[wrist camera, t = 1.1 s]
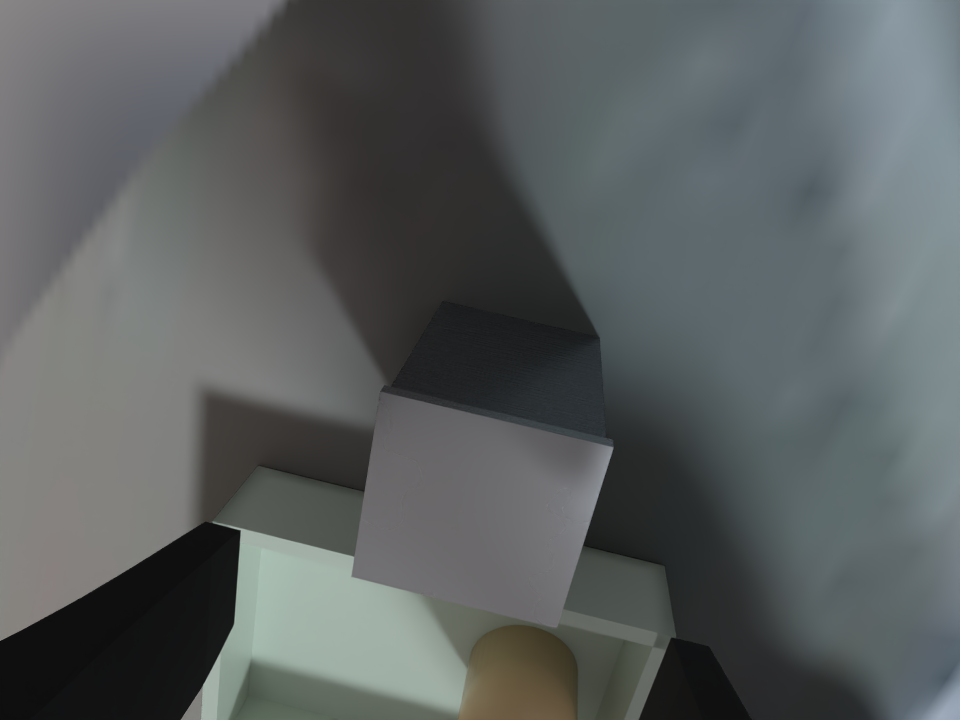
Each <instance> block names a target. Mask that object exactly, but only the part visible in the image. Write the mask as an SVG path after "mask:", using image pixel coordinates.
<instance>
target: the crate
mask: <svg viewBox="0 0 960 720" xmlns="http://www.w3.org/2000/svg"><path fill="white" fill-rule="evenodd" d="M363 499H364V492H363V491H359V490H355V489H351V488H347V487H342V486H338V485H334V484H330V483H326V482H322V481H318V480H314V479H310V478H306V477H302V476H298V475H294V474H290V473H286V472H282V471H278V470H274V469H269V468H265V467H261V466H257V467H256V469H255V470H254V471H253V472H252V473H251V475H250V476H249V477H248V478H247V479H246V481H245V482H244V483H243V484H242V486H241V487H240V488H239V489H238V490H237V492H236V493H235V494H234V495H233V496H232V498H231V499H230V500H229V501H228V503H227V504H226V505H225V506H224V507H223V509H222V510H221V511H220V512H219V513H218V515H217V516H216V517H215V518H214V520H213V521H212V523H213V524H217V525H221V526H225V527H229V528H233V529H238V530H241V537H240V551H239V565H238V579H237V593H236V607H235V621H234V626H233V628H232V630H231V632H230V634H229V636H228V638H227V640H226V642H225V644H224V646H223V648H222V650H221V652H220V654H219V656H218V658H217V660H216V662H215V664H214V666H213V668H212V670H211V672H210V674H209V675H208V677H207V679H206V681H205V683H204V684H203V698H202V716H201V720H458V715H459V710H460V705H461V700H462V694H463V689H464V684H465V679H466V674H467V668H468V663H469V658H470V654H471V651H472V648H473V647H474V645H475V643H476V642H477V641H478V640H479V639H480V638H481V637H482V636H483V635H485V634H486V633H488V632H490V631H492V630H494V629H497V628H500V627H504V626H510V625H525V626H532V627H536V628H539V629H542V630H545V631H547V632H549V633H551V634H553V635H555V636H556V637H558V638H559V639H560V640H562V641H563V642H564V643H565V644H566V645H567V646H568V647H569V649H570V650H571V652H572V653H573V655H574V657H575V659H576V662H577V667H578V720H639V717H640V715H641V712H642V710H643V707H644V705H645V702H646V700H647V697H648V695H649V692H650V689H651V687H652V684H653V682H654V679H655V677H656V674H657V672H658V669H659V667H660V664H661V662H662V659H663V657H664V654H665V652H666V649H667V647H668V644H669V642H670V639H671V637H672V638H676V632H675V626H674V620H673V614H672V608H671V602H670V596H669V590H668V584H667V578H666V572H665V566H663V565H659V564H655V563H651V562H647V561H643V560H638V559H634V558H630V557H626V556H622V555H618V554H614V553H610V552H606V551H602V550H598V549H594V548H590V547H586V546H583V547H582V550H581V553H580V556H579V559H578V563H577V566H576V569H575V572H574V575H573V578H572V582H571V585H570V588H569V591H568V594H567V598H566V601H565V604H564V607H563V610H562V613H561V617H560V620H559V623H558V626H557V629H556V628H552V627H548V626H544V625H540V624H536V623H532V622H528V621H524V620H520V619H516V618H512V617H508V616H504V615H500V614H496V613H492V612H488V611H484V610H481V609H477V608H473V607H469V606H465V605H461V604H457V603H453V602H449V601H445V600H441V599H437V598H433V597H429V596H425V595H421V594H417V593H413V592H409V591H405V590H401V589H397V588H393V587H389V586H385V585H381V584H378V583H374V582H370V581H366V580H362V579H358V578H354V577H351V575H352V569H353V563H354V556H355V550H356V543H357V537H358V531H359V524H360V518H361V512H362V505H363Z"/></svg>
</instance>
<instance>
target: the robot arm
mask: <svg viewBox="0 0 960 720" xmlns="http://www.w3.org/2000/svg"><path fill="white" fill-rule="evenodd" d="M240 537H241V530H238V529H233V528H229V527H225V526H221V525H217V524H213V523H209V522H205V523H203V524H201V525H199V526H198V527H196V528H194V529H193V530H191V531H189V532H188V533H186V534H185V535H183V536H181V537H180V538H178V539H177V540H175V541H173V542H172V543H170V544H169V545H167V546H165V547H164V548H162V549H161V550H159V551H157V552H156V553H154V554H153V555H151V556H150V557H148V558H146V559H145V560H143V561H141V562H140V563H138V564H137V565H135V566H133V567H132V568H130V569H129V570H127V571H125V572H124V573H122V574H120V575H119V576H117V577H115V578H114V579H112V580H110V581H109V582H107V583H105V584H104V585H102V586H100V587H98V588H97V589H95V590H93V591H92V592H90V593H88V594H87V595H85V596H83V597H82V598H80V599H78V600H76V601H75V602H73V603H71V604H69V605H67V606H65V607H64V608H62V609H60V610H58V611H56V612H54V613H53V614H51V615H49V616H47V617H45V618H43V619H42V620H40V621H38V622H36V623H34V624H32V625H31V626H29V627H27V628H25V629H23V630H21V631H19V632H17V633H15V634H13V635H11V636H9V637H7V638H5V639H3V640H1V641H0V720H181V718H182V717H183V715H184V714H185V712H186V711H187V709H188V708H189V706H190V705H191V703H192V702H193V700H194V698H195V697H196V695H197V694H198V692H199V691H200V689H201V688H202V686H203V684H204V683H205V681H206V679H207V677H208V675H209V674H210V672H211V670H212V668H213V666H214V664H215V662H216V660H217V658H218V656H219V654H220V652H221V650H222V648H223V646H224V644H225V642H226V640H227V638H228V636H229V634H230V632H231V630H232V628H233V626H234V621H235V607H236V593H237V579H238V565H239V551H240ZM639 720H752V719H751V718H750V716H749V714H748V713H747V711H746V709H745V707H744V706H743V704H742V702H741V701H740V699H739V697H738V695H737V694H736V692H735V690H734V689H733V687H732V685H731V683H730V682H729V680H728V678H727V676H726V675H725V673H724V671H723V670H722V668H721V666H720V664H719V663H718V661H717V659H716V658H715V656H714V654H713V653H712V651H711V649H710V648H709V647H708V646H704V645H700V644H696V643H692V642H688V641H684V640H680V639H676V638H672V637H671V639H670V642H669V644H668V647H667V649H666V652H665V654H664V657H663V659H662V662H661V664H660V667H659V669H658V672H657V674H656V677H655V679H654V682H653V684H652V687H651V689H650V692H649V695H648V697H647V700H646V702H645V705H644V707H643V710H642V712H641V715H640V717H639Z"/></svg>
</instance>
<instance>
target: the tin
mask: <svg viewBox="0 0 960 720" xmlns="http://www.w3.org/2000/svg"><path fill="white" fill-rule="evenodd" d="M613 448H614V446H613V440H611V439H607V438H606V427H605V412H604V397H603V382H602V367H601V352H600V338H599V337H595V336H590V335H586V334H582V333H577V332H573V331H569V330H565V329H560V328H556V327H552V326H547V325H543V324H539V323H534V322H530V321H526V320H522V319H517V318H513V317H509V316H504V315H500V314H496V313H491V312H487V311H483V310H479V309H474V308H470V307H466V306H461V305H457V304H453V303H448V302H444V301H443V302H442V303H441V305H440V307H439V308H438V310H437V312H436V313H435V315H434V317H433V318H432V320H431V321H430V323H429V325H428V326H427V328H426V330H425V331H424V333H423V335H422V336H421V338H420V340H419V341H418V343H417V345H416V346H415V348H414V350H413V351H412V353H411V354H410V356H409V358H408V359H407V361H406V363H405V364H404V366H403V368H402V369H401V371H400V373H399V374H398V376H397V378H396V379H395V381H394V382H393V384H392V386H391V387H390V386H385V385H384V386H383V388H382V390H381V391H380V397H379V403H378V409H377V416H376V422H375V428H374V435H373V441H372V448H371V454H370V460H369V467H368V473H367V480H366V486H365V492H364V499H363V505H362V512H361V518H360V524H359V531H358V537H357V543H356V550H355V556H354V563H353V569H352V575H351V577H354V578H358V579H362V580H366V581H370V582H374V583H378V584H381V585H385V586H389V587H393V588H397V589H401V590H405V591H409V592H413V593H417V594H421V595H425V596H429V597H433V598H437V599H441V600H445V601H449V602H453V603H457V604H461V605H465V606H469V607H473V608H477V609H481V610H484V611H488V612H492V613H496V614H500V615H504V616H508V617H512V618H516V619H520V620H524V621H528V622H532V623H536V624H540V625H544V626H548V627H552V628H556V629H557V626H558V623H559V620H560V617H561V613H562V610H563V607H564V604H565V601H566V598H567V594H568V591H569V588H570V585H571V582H572V578H573V575H574V572H575V569H576V566H577V563H578V559H579V556H580V553H581V550H582V547H583V543H584V540H585V537H586V534H587V531H588V527H589V524H590V521H591V518H592V515H593V512H594V508H595V505H596V502H597V499H598V496H599V492H600V489H601V486H602V483H603V480H604V476H605V473H606V470H607V467H608V464H609V461H610V457H611V454H612V451H613Z"/></svg>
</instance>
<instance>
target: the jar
mask: <svg viewBox="0 0 960 720" xmlns="http://www.w3.org/2000/svg"><path fill="white" fill-rule="evenodd" d="M458 720H578V667H577V662H576V659H575V657H574V655H573V653H572V652H571V650H570V649H569V647H568V646H567V645H566V644H565V643H564V642H563V641H562V640H560V639H559V638H558V637H556V636H555V635H553V634H551V633H549V632H547V631H545V630H542V629H539V628H536V627H532V626H525V625H510V626H504V627H500V628H497V629H494V630H492V631H490V632H488V633H486V634H485V635H483V636H482V637H481V638H480V639H479V640H478V641H477V642H476V643H475V645H474V647H473V648H472V651H471V654H470V658H469V663H468V668H467V674H466V679H465V684H464V689H463V694H462V700H461V705H460V710H459V715H458Z"/></svg>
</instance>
